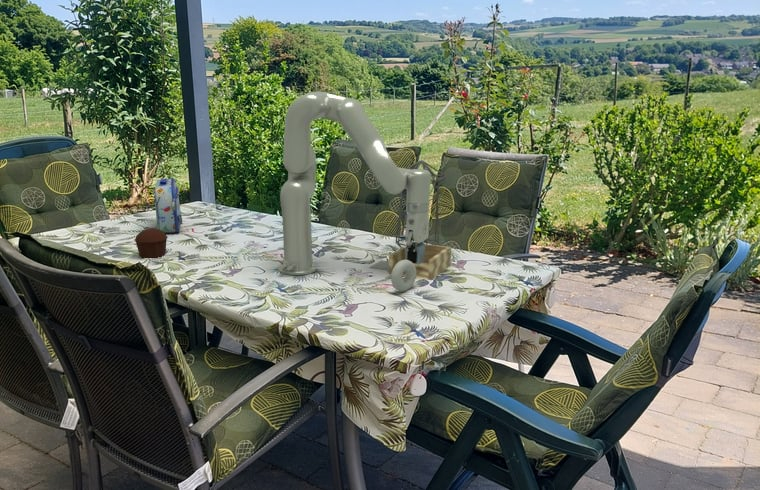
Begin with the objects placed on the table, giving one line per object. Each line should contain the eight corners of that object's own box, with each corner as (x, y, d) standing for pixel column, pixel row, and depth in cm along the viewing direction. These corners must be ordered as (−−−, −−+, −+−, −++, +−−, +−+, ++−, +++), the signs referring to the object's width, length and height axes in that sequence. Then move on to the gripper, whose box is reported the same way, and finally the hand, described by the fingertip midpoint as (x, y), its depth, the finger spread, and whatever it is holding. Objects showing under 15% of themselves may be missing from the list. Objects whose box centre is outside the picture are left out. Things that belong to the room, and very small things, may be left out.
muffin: (155, 261, 238) (152, 234, 235) (129, 258, 241) (126, 231, 239) (175, 252, 249) (173, 226, 246) (150, 250, 252) (148, 224, 250)
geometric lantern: (408, 247, 258) (412, 156, 249) (445, 253, 250) (450, 160, 241) (387, 256, 245) (391, 160, 236) (425, 263, 237) (430, 165, 228)
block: (419, 264, 221) (420, 247, 219) (405, 262, 223) (406, 244, 221) (424, 260, 225) (425, 243, 224) (410, 258, 227) (411, 241, 226)
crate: (431, 281, 216) (432, 260, 214) (389, 275, 222) (389, 255, 221) (450, 266, 233) (451, 247, 231) (410, 261, 239) (410, 242, 237)
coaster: (393, 272, 226) (393, 270, 226) (369, 269, 229) (369, 267, 229) (404, 265, 234) (404, 263, 233) (380, 262, 237) (380, 260, 237)
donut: (410, 286, 212) (410, 255, 209) (418, 288, 209) (419, 258, 207) (388, 293, 205) (388, 262, 202) (396, 296, 202) (396, 264, 200)
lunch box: (183, 235, 274) (179, 182, 268) (156, 237, 271) (152, 184, 265) (181, 221, 299) (178, 172, 294) (157, 223, 296) (153, 173, 291)
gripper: (418, 213, 210) (416, 268, 215) (437, 204, 225) (434, 256, 230) (396, 210, 213) (394, 265, 218) (416, 201, 228) (414, 253, 233)
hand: (415, 259), depth 224 cm, fingers closed on block, 5 cm apart
